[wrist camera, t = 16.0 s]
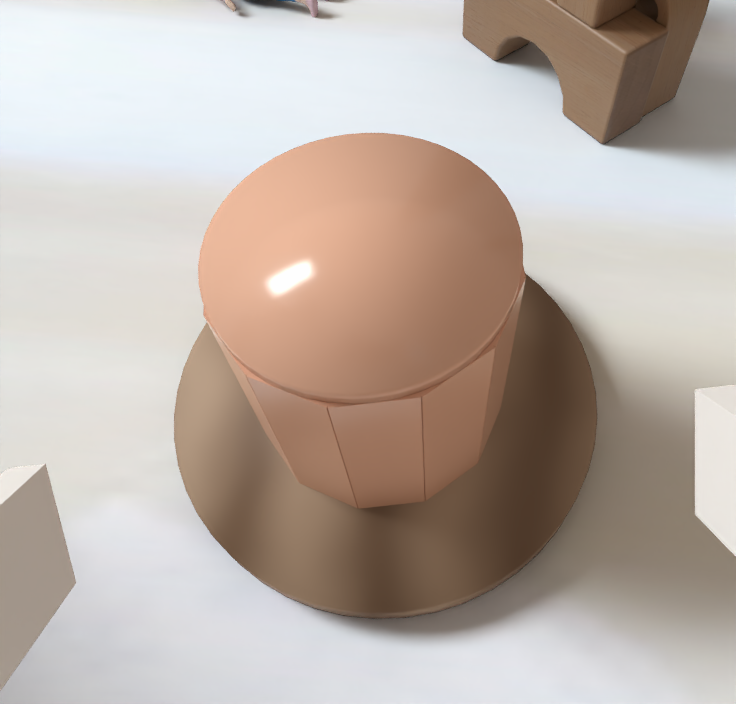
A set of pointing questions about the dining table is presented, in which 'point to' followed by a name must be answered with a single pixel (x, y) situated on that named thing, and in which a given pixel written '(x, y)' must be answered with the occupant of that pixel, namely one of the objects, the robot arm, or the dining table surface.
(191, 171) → the dining table surface
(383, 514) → the walnut board
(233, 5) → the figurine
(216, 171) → the dining table surface
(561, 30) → the wooden toy
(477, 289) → the tan domed cylinder
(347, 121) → the dining table surface
